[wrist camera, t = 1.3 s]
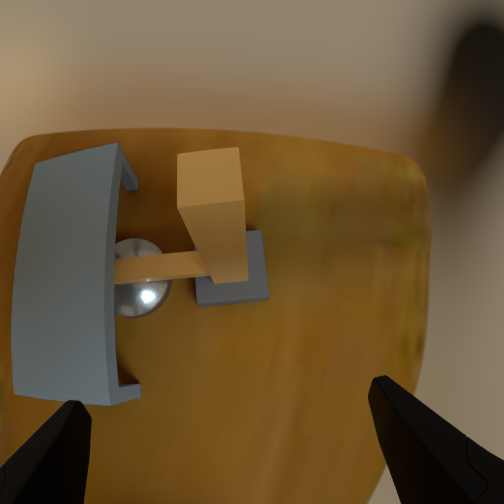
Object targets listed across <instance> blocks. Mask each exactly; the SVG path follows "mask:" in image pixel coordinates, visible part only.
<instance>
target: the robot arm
mask: <svg viewBox="0 0 504 504" xmlns="http://www.w3.org/2000/svg"><path fill="white" fill-rule="evenodd" d="M368 401H369V405H370V409H371V412H372V416H373V420H374V424H375V429H376V433H377V437H378V441H379V444H380V447H381V449H382V452H383V455H384V457H385V460H386V463H387V465H388V468H389V471H390V474H391V476H392V479H393V482H394V485H395V488H396V490H397V493H398V496H399V499H400V502H401V504H504V460H502V459H501V458H499V457H497V456H495V455H494V454H492V453H490V452H489V451H487V450H486V449H484V448H483V447H481V446H480V445H478V444H477V443H476V442H474V441H473V440H472V439H470V438H469V437H467V436H466V435H465V434H463V433H462V432H460V431H459V430H458V429H457V428H455V427H454V426H452V425H451V424H450V423H449V422H447V421H446V420H445V419H443V418H442V417H440V416H439V415H438V414H437V413H435V412H434V411H433V410H431V409H430V408H429V407H427V406H426V405H425V404H423V403H422V402H421V401H419V400H418V399H417V398H416V397H414V396H413V395H412V394H410V393H409V392H408V391H406V390H405V389H404V388H402V387H401V386H400V385H398V384H397V383H396V382H395V381H393V380H392V379H391V378H389V377H388V376H386V375H383V376H379V377H375V378H374V379H373V380H372V383H371V386H370V390H369V394H368ZM91 424H92V419H91V416H90V414H89V412H88V411H87V410H86V408H85V407H84V405H83V404H82V402H81V401H79V400H68V401H66V402H65V403H64V404H63V405H62V406H61V407H60V408H59V409H58V410H57V411H56V412H55V413H54V414H53V415H52V416H51V417H50V418H49V419H48V420H47V421H46V422H45V423H44V424H43V425H42V426H41V427H40V428H39V429H38V430H37V431H36V432H35V433H34V434H33V435H32V436H31V437H30V438H29V439H28V440H27V441H26V442H25V443H24V444H23V445H22V446H21V447H20V448H19V449H18V450H17V451H16V452H15V453H14V454H13V455H12V456H11V457H10V458H9V459H8V460H7V461H6V463H5V464H3V466H2V467H1V468H0V504H84V496H85V488H86V480H87V473H88V466H89V457H90V439H91Z"/></svg>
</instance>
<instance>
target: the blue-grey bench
mask: <svg viewBox="0 0 504 504" xmlns="http://www.w3.org/2000/svg"><path fill="white" fill-rule="evenodd" d="M120 182H122V184H123V185H124V187H125V188H126V190H127V191H132V190H138V184H139V179H138V178H137V176H136V174H135V172H134V171H133V169H132V167H131V165H130V164H129V162H128V160H127V158H126V156H125V155H124V153H123V151H122V149H121V147H120V146H119V144H118V142H117V143H112V144H108V145H103V146H99V147H94V148H90V149H86V150H82V151H78V152H74V153H70V154H66V155H63V156H59V157H55V158H52V159H48V160H45V161H41V162H38V163H35V166H34V170H33V174H32V178H31V182H30V186H29V190H28V194H27V198H26V203H25V208H24V213H23V218H22V223H21V229H20V235H19V241H18V248H17V255H16V263H15V272H14V283H13V296H12V318H11V353H12V374H13V387H14V394H17V395H23V396H28V397H34V398H41V399H48V400H55V401H63V402H66V401H68V400H79V401H81V402H82V404H93V405H107V406H111V405H115V404H118V403H122V402H126V401H129V400H132V399H136V398H139V397H141V388H140V384H123V385H118V374H117V361H116V344H115V316H114V273H115V244H116V227H117V213H118V202H119V191H120Z"/></svg>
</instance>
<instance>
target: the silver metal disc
mask: <svg viewBox="0 0 504 504" xmlns="http://www.w3.org/2000/svg"><path fill="white" fill-rule="evenodd" d="M159 254H163V253H162V252H161V250H160V249H159V248H158V247H157V246H156V245H154V244H153V243H151V242H150V241H147V240H144V239H140V238H131V239H126V240H123V241H120V242H118V243H117V244H115V259H122V258H131V257H141V256H150V255H159ZM171 283H172V279H170V280H159V281H148V282H136V283H124V284H114V312H115V313H117V314H119V315H122V316H125V317H129V318H140V317H144V316H147V315H149V314H151V313H153V312H154V311H156V310H157V309H158V308H159V307H160V306H161V305H162V304H163V303H164V301H165V300H166V298H167V296H168V294H169V291H170V288H171Z"/></svg>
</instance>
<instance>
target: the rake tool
mask: <svg viewBox="0 0 504 504" xmlns="http://www.w3.org/2000/svg"><path fill="white" fill-rule="evenodd" d="M177 209H178V211H179V213H180V215H181V217H182V219H183V221H184V223H185V225H186V228H187V230H188V232H189V234H190V236H191V238H192V240H193V242H194V251H188V252H178V253H169V254H159V255H150V256H141V257H131V258H122V259H115V273H114V284H124V283H136V282H148V281H159V280H170V279H181V278H192V277H195V280H196V296H197V304H198V305H199V306H200V307H203V306H214V305H225V304H236V303H246V302H255V301H264V300H269V290H268V281H267V273H266V265H265V257H264V249H263V241H262V233H261V230H254V231H246V223H245V203H244V193H243V183H242V174H241V165H240V156H239V147H232V148H223V149H213V150H205V151H197V152H189V153H181V154H178V158H177Z"/></svg>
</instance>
